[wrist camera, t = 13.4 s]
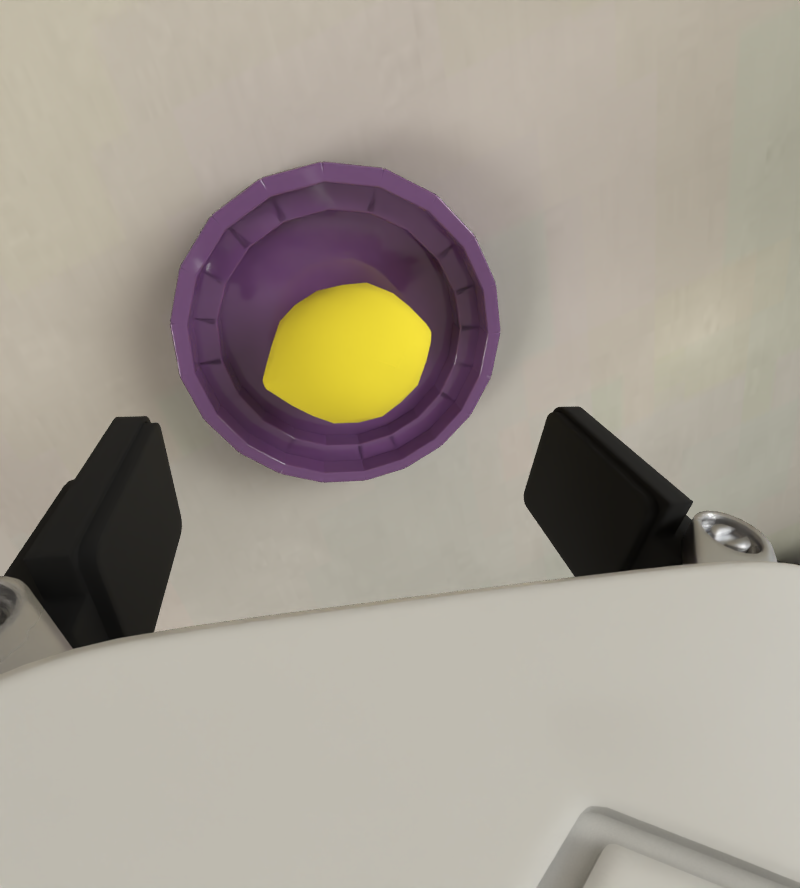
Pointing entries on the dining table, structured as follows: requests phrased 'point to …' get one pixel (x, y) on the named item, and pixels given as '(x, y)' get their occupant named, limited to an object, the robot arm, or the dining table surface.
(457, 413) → the dish
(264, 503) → the dining table surface
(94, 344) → the dining table surface
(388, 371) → the lemon
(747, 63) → the dining table surface
